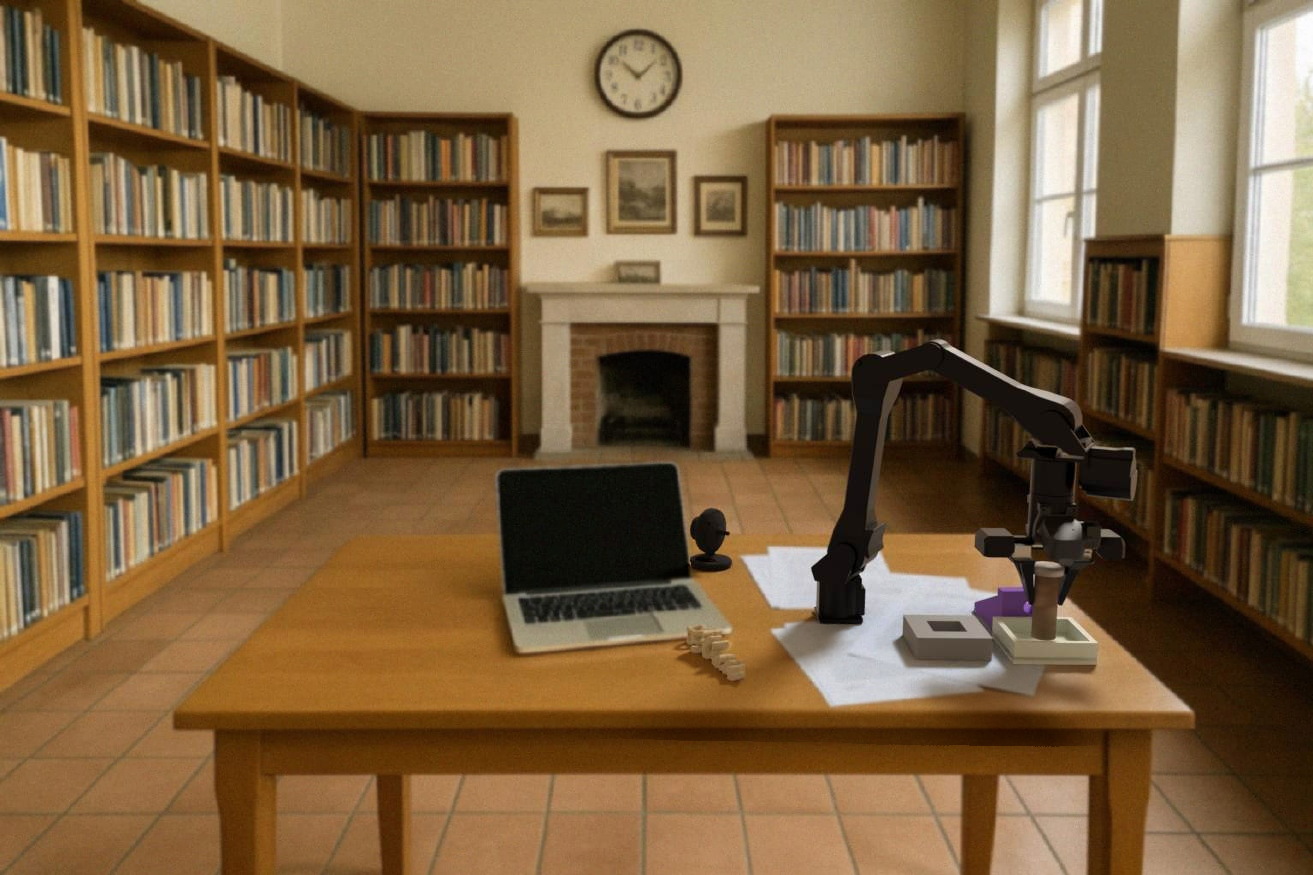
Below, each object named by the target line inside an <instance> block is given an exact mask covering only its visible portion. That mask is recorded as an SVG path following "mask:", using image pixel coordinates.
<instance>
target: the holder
mask: <svg viewBox="0 0 1313 875" xmlns="http://www.w3.org/2000/svg"><path fill="white" fill-rule="evenodd" d="M902 637H903V639H904V640H905V643H906V644H907V646H908V647H909V649H910V651H911V652H912V654H913V657H915V659H916V660H939V661H940V660H943V661H944V660H945V661H946V660H947V661H948V660H949V661H950V660H951V661H954V660H956V661H957V660H958V661H959V660H960V661H961V660H962V661H966V660H967V661H992V657H993V641H994V639H993V638H992V635H991V634H990V633H989V632H988V631H987V629H986V628H985V626H983V624H982V623H981V622H980V621H979V619H978V618H977V617H976V616H975V614H974V615H973V614H969V615H968V614H965V615H964V614H963V615H962V614H903V615H902Z"/></svg>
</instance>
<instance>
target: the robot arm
mask: <svg viewBox="0 0 1313 875" xmlns="http://www.w3.org/2000/svg"><path fill="white" fill-rule="evenodd" d="M850 371H851V374H850V375H851V395H852V399H853V400H852V401H853V404H854V408H855V413H856V416H855V424H854V430H853V437H852V445H851V453H850V459H849V466H848V472H847V482H846V488H845V496H844V504H843V508H842V511H841V513H840V516H839V517H838V519H837V520H836V524H835V525H834V528H833V530H832V532H831V536H830V539H829V542H828V546H827V549H826V554H825V555H823V556H822V557H821V558H820V559H819V560H818V561H816V562H815V563H814V564H813V565H812V566H811V567H810V570H811V574H812V577H813V580H814V581H815V582H816V600H815V601H816V602H815V606H814V607H813V611H814V613H815V615H816V619H817V622H818V623H823V624H824V623H825V624H827V623H834V624H835V623H840V624H841V623H843V624H844V623H845V624H846V623H847V624H849V623H850V624H854V623H855V624H858V623H859V624H861V623H864V618H863V616H864V615H866V591H867V590H866V588H865V586H864V584H863V579H862V576H861V574H862V573H864V572H865V570H866V567H867V565H868V564H869V563H870V562H872V561H873V560H874V559H876V558H877V556H878V554H879V552H880V551H882V550H883V549H885V546H884V539H883V538H884V534H885V531H886V529H887V528H886V527H887V522H884V521H878V517H877V515H876V502H877V494H878V487H879V481H880V474H881V468H882V466H881V465H882V459H883V452H884V447H885V446H884V445H885V438H886V431H887V425H888V417H889V414H890V412H891V410H892V408H893V406H894V405H895V402H896V400H897V397H898V396H899V393H900V390H901V387H902V384H903V381H904V378H906V377H909V376H913V375H916V374H920V373H923V372H926V371H931V372H934V373H936V374H938V375H939V376H940V377H943V378H945V379H947V381H950V382H952V383H954V384H955V385H957V386H959V387H961V388H963V389H965V390H967V391H969V392H971V393H972V394H973V395H975V396H978V397H979V398H981V399H983V400H985V401H987V402H989V403H990V404H992V405H994V406H996V407H998V408H999V409H1001V410H1003V411H1004V412H1006V414H1007V415H1009V416H1011V417H1012V419H1014V421H1015V422H1016V423H1017V424H1018V425H1019V426H1020V427H1021V428H1022V429H1024V430H1025V432H1028V433H1029V434H1030V435H1031V436H1032V438H1031V439H1029V440H1028V441H1027V443H1026V444H1025V445H1024V447H1022V448H1021V449H1020V450H1018V451H1017V452H1016V454H1015V456H1016V457H1017V458H1021V459H1031V464H1030V465H1031V467H1030V468H1031V469H1030V470H1031V471H1030V480H1029V481H1030V484H1029V485H1030V486H1029V494H1027V498H1026V499H1027V500H1026V502H1027V503H1028V518H1027V523H1026V524H1025V530H1024V531H1025V533H1027V535H1019V534H1018V535H1016V534H1015V535H1013V534H1012V533H1011V532H1009V531H1008V530H1007V529H1006V528H1005V527H994V528H993V527H980V528H979V529H978V530H977V531H976V532H975V535H974V548H975V549H976V550H977V551H978V552H979V553H980V554H981V555H982V556H983V557H985V558H991V559H993V558H995V559H997V558H999V559H1001V558H1002V559H1005V558H1006V559H1008V560H1009V561H1010V562H1011V563H1013V564H1014V566H1015V569H1016V571H1017V574H1018V576H1019V580H1020V583H1021V585H1022V586H1021V587H1023V589H1024V592H1025V595H1026V599H1027V603H1028V604H1029V605H1030V606H1031V605H1033V600H1034V578H1035V575H1034V572H1033V570H1034V566H1035V563H1036V562H1037V561H1036V560H1035V558H1033V556H1032V550H1033V551H1036V550H1038V551H1043V550H1044V553H1045V556H1046V557H1047V558H1048V559H1050V560H1054V561H1058V563H1059V564H1062V565H1064V566H1065V572H1064V576H1061V577H1059V592H1058V606H1060V607H1061V606H1063V605H1064V603H1065V601H1066V599H1067V598H1068V595H1069V592H1070V590H1071V588H1072V586H1073V584H1074V581H1075V580H1076V578H1077V576H1078V575H1079V573H1080V572H1081V571H1082V570H1083V568H1085V567H1086V566H1087V565H1094V563H1095V561H1096V560H1095V559H1094V558H1093V557H1092V554H1093V551H1095V553H1096V554H1097V555H1098V556H1099V557H1100V558H1101V559H1104V560H1106V559H1107V560H1108V559H1109V560H1110V559H1111V560H1113V559H1114V560H1123V559H1125V557H1126V543H1125V540H1124V539H1123V537H1121V535H1119V534H1117V533H1116V532H1114V531H1113V530H1111V529H1109V528H1108V529H1107V528H1102V526H1101V524H1100V522H1099V521H1098V520H1085V521H1080V520H1079V517H1078V515H1077V514H1078V509H1077V503H1075V493H1076V492H1075V491H1076V477H1077V464H1079V468H1078V469H1079V470H1078V478H1077V479H1078V480H1077V481H1078V482H1077V483H1078V488H1079V489H1080V488H1081V491H1083V492H1085V493H1086V497H1094V498H1104V499H1114V500H1120V501H1121V500H1122V501H1132V502H1133V500H1134V498H1135V496H1136V495H1135V493H1136V489H1137V482H1138V469H1137V459H1136V448H1135V447H1128V446H1127V447H1125V446H1124V447H1111V446H1110V447H1108V446H1099V445H1098V446H1097V442H1096V441H1095V440H1094V438H1093V436H1092V435H1091V434H1090V432H1089V431H1088V430H1087V428H1086V427H1085V425H1084V424H1083V414H1082V410H1081V407H1080V406H1079V404H1078V403H1077V402H1075V401H1074V400H1072V399H1071V398H1068V397H1066V396H1062V395H1059V394H1056V393H1054V392H1051V391H1047V390H1045V389H1044V390H1043V389H1039V388H1035V387H1031V386H1029V385H1025V384H1022V383H1021V382H1018V381H1017V380H1015V379H1012V378H1011V377H1009V376H1008V375H1006V374H1004V373H1002V372H1000V371H998V370H996V369H994V368H992V367H990V365H987V364H985V363H983V362H982V361H980V360H978V359H975V358H974V357H972V356H970V355H968V354H966V353H965V352H963V351H961V350H959V349H957V348H955V347H953V346H952V345H951V344H950V343H948V341H946V340H943V339H939V338H938V339H932V340H928V341H926V342H924V343H922V344H921V345H917V346H914V347H912V348H908V349H905V350H901V351H897V352H894V351H892V350H888V349H887V350H884V349H883V350H878V351H874V352H870V353H867V354H863V355H861V356H860V357H859V358H857V360H855V361H854V363H853V365H852V367H851V370H850ZM1038 441H1039V442H1040V443H1042V444H1040V443H1038Z"/></svg>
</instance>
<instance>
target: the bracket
mask: <svg viewBox="0 0 1313 875" xmlns="http://www.w3.org/2000/svg"><path fill="white" fill-rule="evenodd" d="M973 605H974V606H973V610H974V611H975V612H976V614H978V615H979V616H980V617H981V618H982V620H984V621H985V622H986V623H987V625H989V626H990V627H991V628H992V624H993V617H1032V612H1033V605H1029V604H1028V602H1027V599H1026V595H1025V592H1024V589H1023V586H999V587H997V594H996V595H994V596H991V597H988V598H984V599H981V600H977V601H974V604H973Z"/></svg>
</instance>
